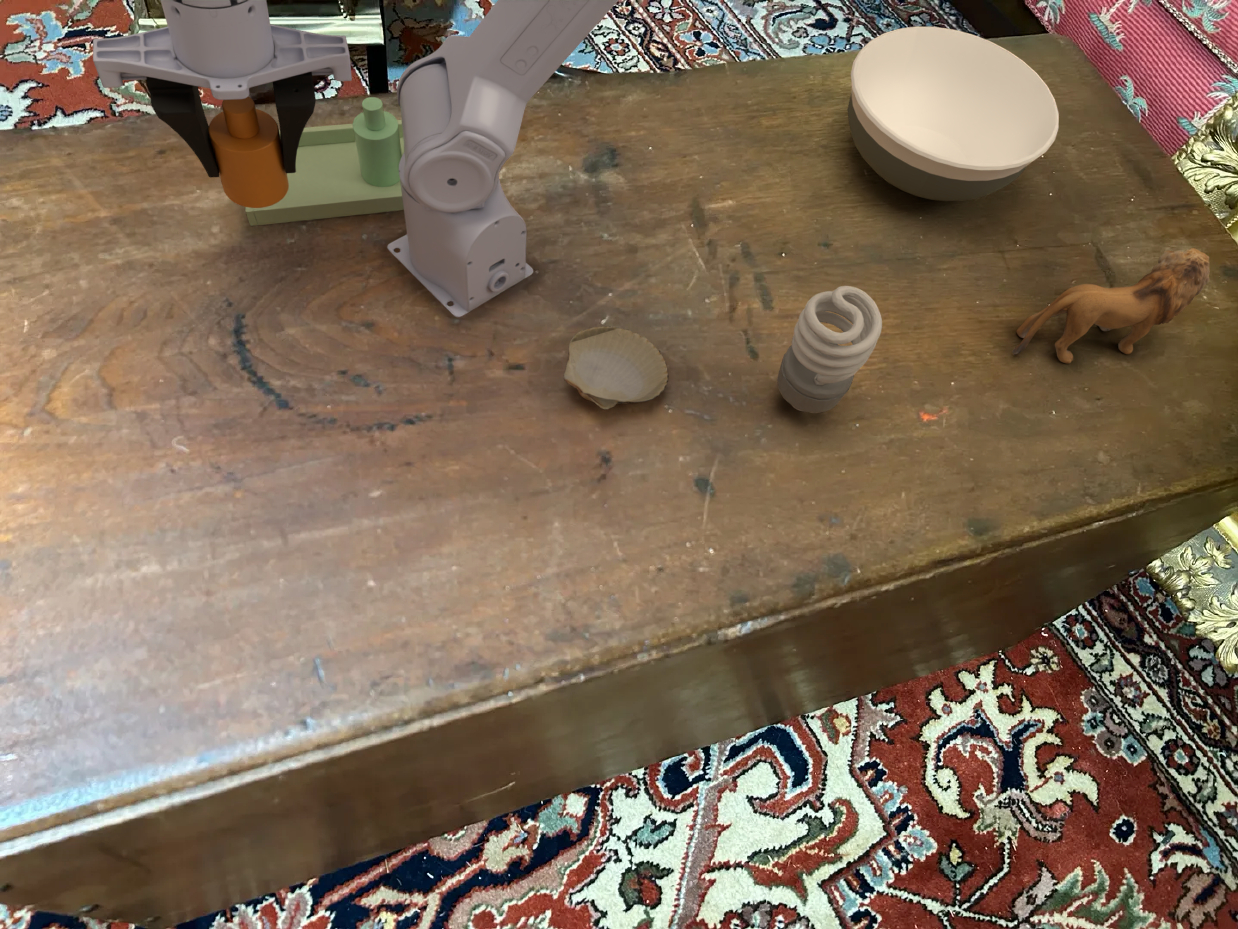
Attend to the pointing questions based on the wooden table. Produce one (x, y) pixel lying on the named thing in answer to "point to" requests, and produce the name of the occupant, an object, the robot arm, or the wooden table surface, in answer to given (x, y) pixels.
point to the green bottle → (377, 144)
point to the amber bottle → (248, 154)
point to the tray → (328, 181)
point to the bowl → (947, 113)
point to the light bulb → (828, 348)
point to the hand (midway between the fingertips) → (251, 165)
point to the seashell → (615, 367)
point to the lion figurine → (1125, 303)
